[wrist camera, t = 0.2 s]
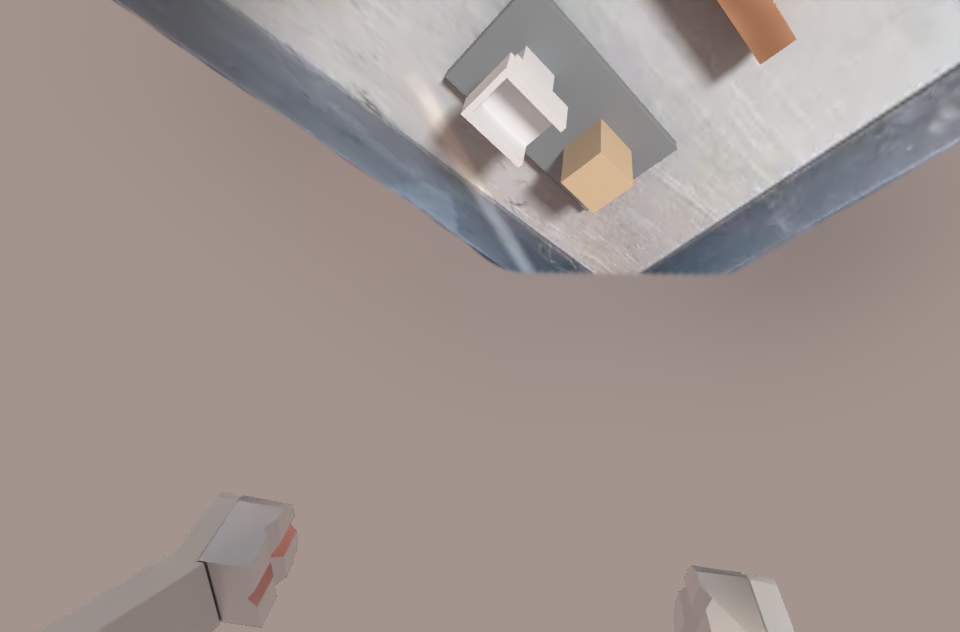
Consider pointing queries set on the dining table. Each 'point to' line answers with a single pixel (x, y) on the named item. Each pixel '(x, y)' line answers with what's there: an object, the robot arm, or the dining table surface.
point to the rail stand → (557, 104)
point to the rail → (759, 26)
